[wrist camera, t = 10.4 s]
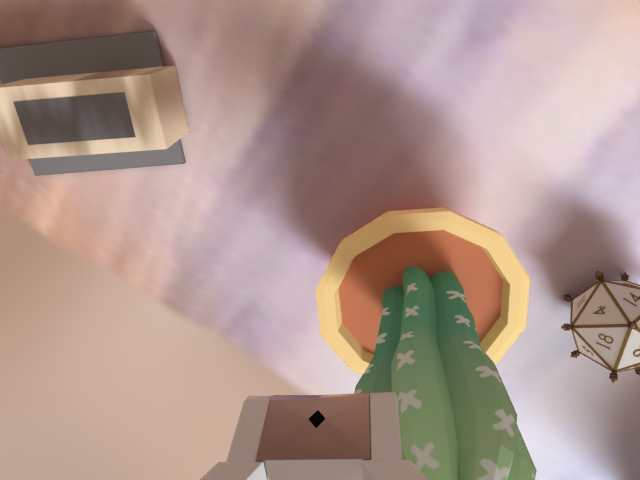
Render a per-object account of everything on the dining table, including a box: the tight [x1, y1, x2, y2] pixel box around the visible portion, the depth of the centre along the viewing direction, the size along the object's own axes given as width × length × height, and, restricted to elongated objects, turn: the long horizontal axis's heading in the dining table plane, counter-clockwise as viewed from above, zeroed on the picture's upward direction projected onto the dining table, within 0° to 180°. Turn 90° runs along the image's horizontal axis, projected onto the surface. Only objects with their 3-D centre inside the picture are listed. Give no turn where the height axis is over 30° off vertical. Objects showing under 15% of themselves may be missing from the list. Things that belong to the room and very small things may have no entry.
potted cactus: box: [315, 207, 536, 480], centre depth 32 cm, size 15×15×25 cm
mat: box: [0, 31, 186, 176], centre depth 39 cm, size 10×13×1 cm
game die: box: [561, 271, 640, 383], centre depth 40 cm, size 9×8×10 cm
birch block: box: [0, 65, 189, 160], centre depth 37 cm, size 5×5×12 cm
